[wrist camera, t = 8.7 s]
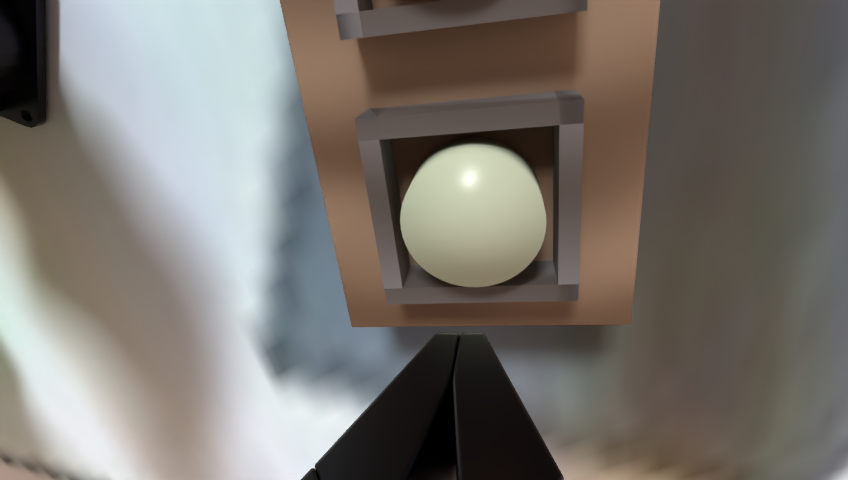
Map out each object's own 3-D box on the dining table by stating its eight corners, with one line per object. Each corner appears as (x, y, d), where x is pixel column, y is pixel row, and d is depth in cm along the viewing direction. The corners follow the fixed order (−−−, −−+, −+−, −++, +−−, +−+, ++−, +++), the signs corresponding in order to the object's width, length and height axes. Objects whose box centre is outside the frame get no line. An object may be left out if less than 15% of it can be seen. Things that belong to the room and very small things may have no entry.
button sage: (541, 255, 15) (546, 285, 14) (418, 260, 16) (409, 288, 14) (540, 131, 13) (546, 148, 12) (402, 142, 14) (390, 160, 13)
